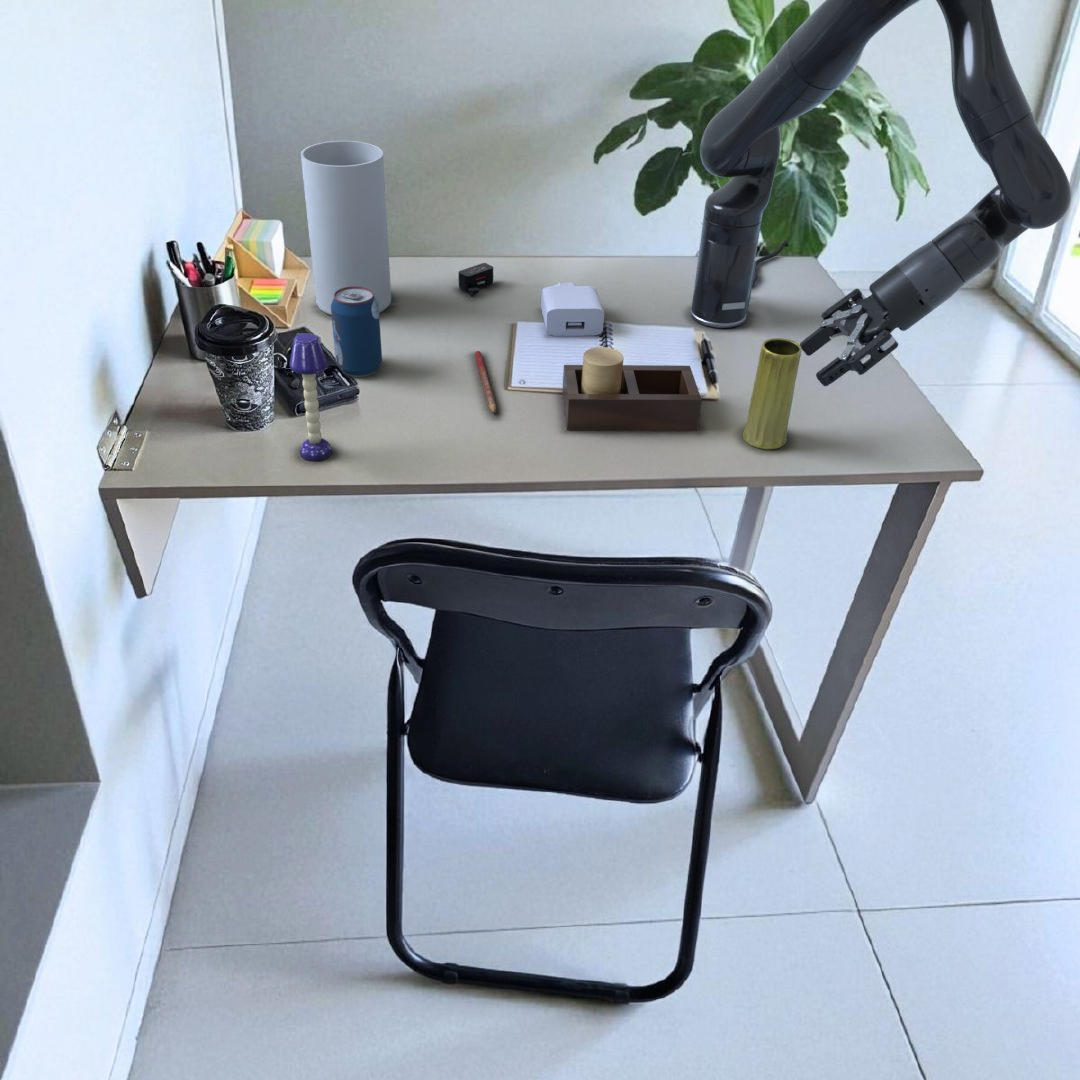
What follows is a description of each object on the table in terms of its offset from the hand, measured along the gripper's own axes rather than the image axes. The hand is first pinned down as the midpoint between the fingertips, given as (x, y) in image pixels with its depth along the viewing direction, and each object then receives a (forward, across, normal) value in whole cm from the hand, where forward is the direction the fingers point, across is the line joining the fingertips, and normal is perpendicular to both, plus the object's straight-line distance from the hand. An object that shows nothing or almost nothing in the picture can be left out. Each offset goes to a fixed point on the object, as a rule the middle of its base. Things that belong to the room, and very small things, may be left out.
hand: (811, 365), depth 140 cm
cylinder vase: (+54, -43, -38) cm, 79 cm away
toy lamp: (+55, +3, -38) cm, 67 cm away
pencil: (+39, -15, -22) cm, 47 cm away
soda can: (+52, -20, -36) cm, 67 cm away
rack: (+24, -7, -8) cm, 27 cm away
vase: (+11, 0, +5) cm, 12 cm away
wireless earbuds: (+40, -49, -23) cm, 67 cm away
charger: (+29, -39, -12) cm, 50 cm away
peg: (+27, -7, -11) cm, 30 cm away
